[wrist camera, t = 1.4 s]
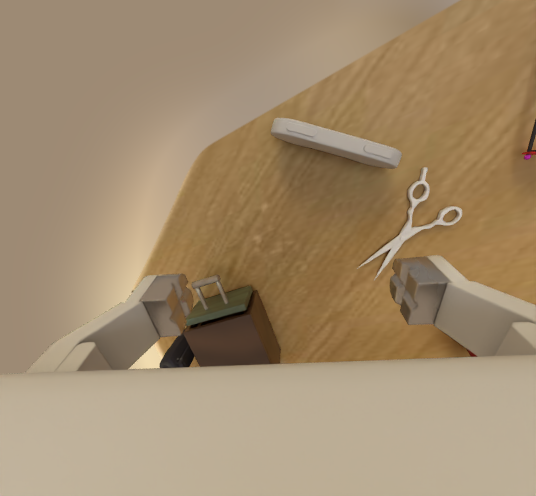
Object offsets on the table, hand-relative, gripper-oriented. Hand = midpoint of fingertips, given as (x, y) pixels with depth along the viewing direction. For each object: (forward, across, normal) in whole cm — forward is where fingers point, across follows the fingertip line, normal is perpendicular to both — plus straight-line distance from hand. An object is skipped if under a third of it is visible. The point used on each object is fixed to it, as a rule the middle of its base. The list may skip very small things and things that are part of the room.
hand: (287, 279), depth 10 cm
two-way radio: (+28, -22, -36) cm, 51 cm away
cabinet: (+28, -11, -34) cm, 46 cm away
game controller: (+36, +8, -1) cm, 37 cm away
